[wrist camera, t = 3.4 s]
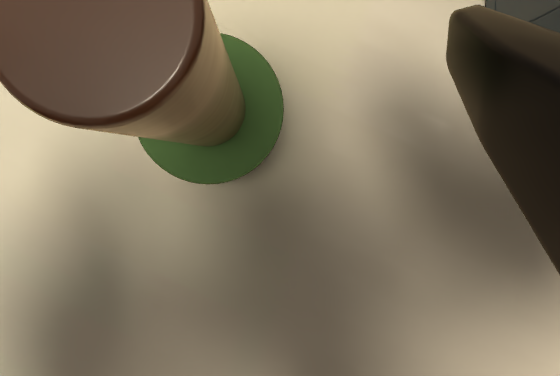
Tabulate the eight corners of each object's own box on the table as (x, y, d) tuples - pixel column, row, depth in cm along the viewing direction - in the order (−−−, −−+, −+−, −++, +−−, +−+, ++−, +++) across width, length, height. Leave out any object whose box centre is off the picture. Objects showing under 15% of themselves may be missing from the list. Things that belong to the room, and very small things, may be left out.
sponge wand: (302, 110, 17) (413, -25, 4) (231, 200, 17) (131, 332, 4) (211, 37, 16) (40, -336, 4) (140, 129, 17) (-245, 49, 4)
